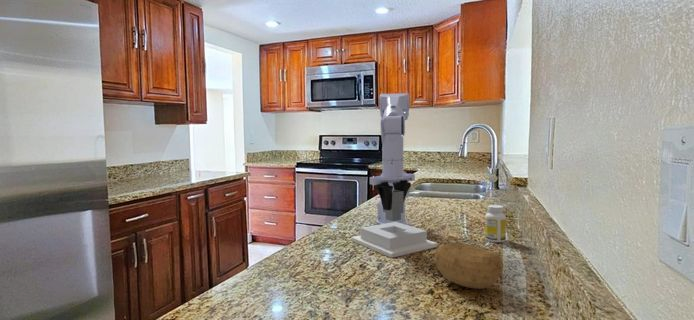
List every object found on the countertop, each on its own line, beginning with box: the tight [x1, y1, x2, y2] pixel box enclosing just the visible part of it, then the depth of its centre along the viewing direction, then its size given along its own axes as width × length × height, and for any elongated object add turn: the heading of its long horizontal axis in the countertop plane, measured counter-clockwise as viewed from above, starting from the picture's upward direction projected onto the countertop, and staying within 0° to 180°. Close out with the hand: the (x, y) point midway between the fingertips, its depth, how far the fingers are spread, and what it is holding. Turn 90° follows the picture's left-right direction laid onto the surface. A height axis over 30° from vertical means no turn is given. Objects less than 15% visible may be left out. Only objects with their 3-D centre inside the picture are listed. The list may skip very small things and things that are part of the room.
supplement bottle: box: [484, 204, 507, 243], centre depth 104 cm, size 5×5×10 cm
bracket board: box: [350, 222, 438, 259], centre depth 102 cm, size 18×16×4 cm
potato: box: [433, 242, 504, 290], centre depth 74 cm, size 10×14×8 cm
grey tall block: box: [383, 189, 404, 221], centre depth 101 cm, size 4×4×8 cm
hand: (392, 208), depth 102 cm, fingers closed on grey tall block, 4 cm apart
